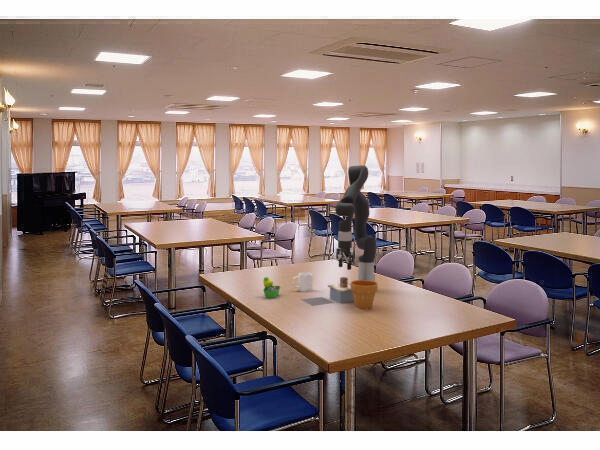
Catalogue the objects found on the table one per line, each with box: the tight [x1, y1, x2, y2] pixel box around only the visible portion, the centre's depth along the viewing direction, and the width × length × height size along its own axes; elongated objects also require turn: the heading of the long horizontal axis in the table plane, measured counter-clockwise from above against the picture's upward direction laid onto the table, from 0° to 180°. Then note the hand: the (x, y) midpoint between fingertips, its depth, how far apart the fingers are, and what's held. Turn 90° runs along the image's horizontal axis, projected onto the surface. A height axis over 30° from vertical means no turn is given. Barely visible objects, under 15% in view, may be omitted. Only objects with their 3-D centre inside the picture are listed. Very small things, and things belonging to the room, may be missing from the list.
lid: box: [327, 276, 351, 292], centre depth 294 cm, size 13×13×6 cm
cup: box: [292, 272, 313, 293], centre depth 316 cm, size 8×12×10 cm
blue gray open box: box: [329, 287, 354, 304], centre depth 295 cm, size 11×11×7 cm
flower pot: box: [350, 279, 378, 310], centre depth 281 cm, size 14×14×13 cm
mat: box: [300, 296, 336, 307], centre depth 291 cm, size 14×14×1 cm
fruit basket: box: [263, 276, 281, 299], centre depth 301 cm, size 11×9×11 cm
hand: (344, 268), depth 293 cm, fingers open, 8 cm apart
